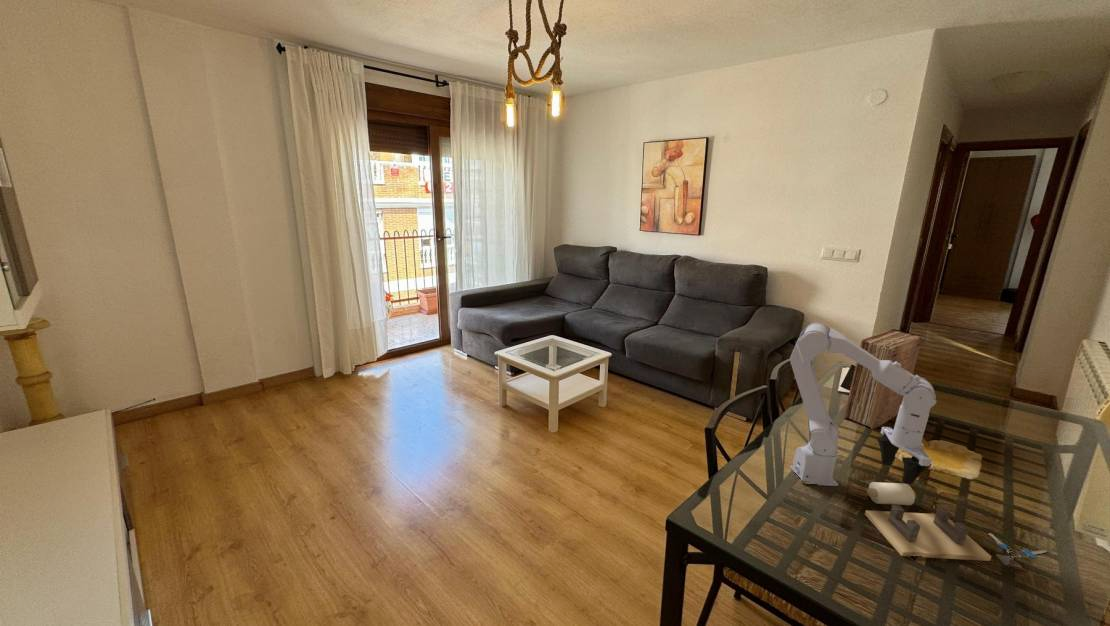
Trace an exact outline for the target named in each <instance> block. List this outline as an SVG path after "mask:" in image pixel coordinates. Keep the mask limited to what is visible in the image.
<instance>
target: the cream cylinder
mask: <svg viewBox="0 0 1110 626" xmlns="http://www.w3.org/2000/svg"><path fill="white" fill-rule="evenodd" d="M866 493H867V496H869V497H870V498H871V501H872V502H873V503H875V504H880V505H900V506H912V505H913V504H914V503H915V499H916V497H917V494H916V492H915V491H914V490H913V489H912V487H911V486H910V484H904V483H900V482H899V483H897V482H896V483H895V482H877V481H872V482H870V483H869V485H868V488H867V490H866Z"/></svg>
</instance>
